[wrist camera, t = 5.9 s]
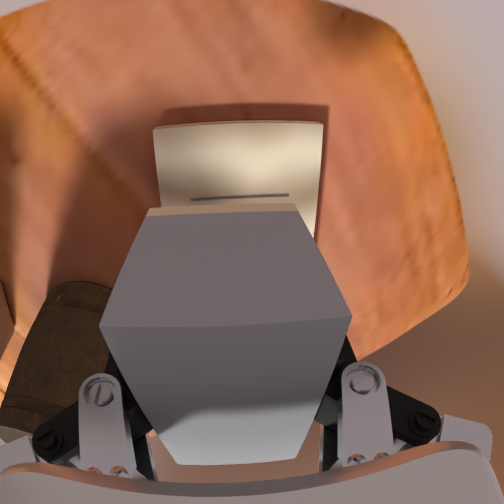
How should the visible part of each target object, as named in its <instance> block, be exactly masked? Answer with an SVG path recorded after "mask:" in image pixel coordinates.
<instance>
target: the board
mask: <svg viewBox="0 0 504 504" xmlns="http://www.w3.org/2000/svg"><path fill="white" fill-rule="evenodd" d="M322 138H323V124H321V123H319V122H315V121H287V120H247V121H219V122H202V123H189V124H178V125H168V126H159V127H155V128H154V129H153V141H154V151H155V160H156V169H157V178H158V185H159V193H160V200H161V207H177V206H197V205H222V204H259V203H294V204H295V206H296V208H297V209H298V211H299V213H300V215H301V217H302V219H303V220H304V222H305V224H306V226H307V228H308V230H309V231H310V233H311V235H312V237H314V229H315V219H316V210H317V200H318V189H319V178H320V166H321V153H322Z"/></svg>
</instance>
